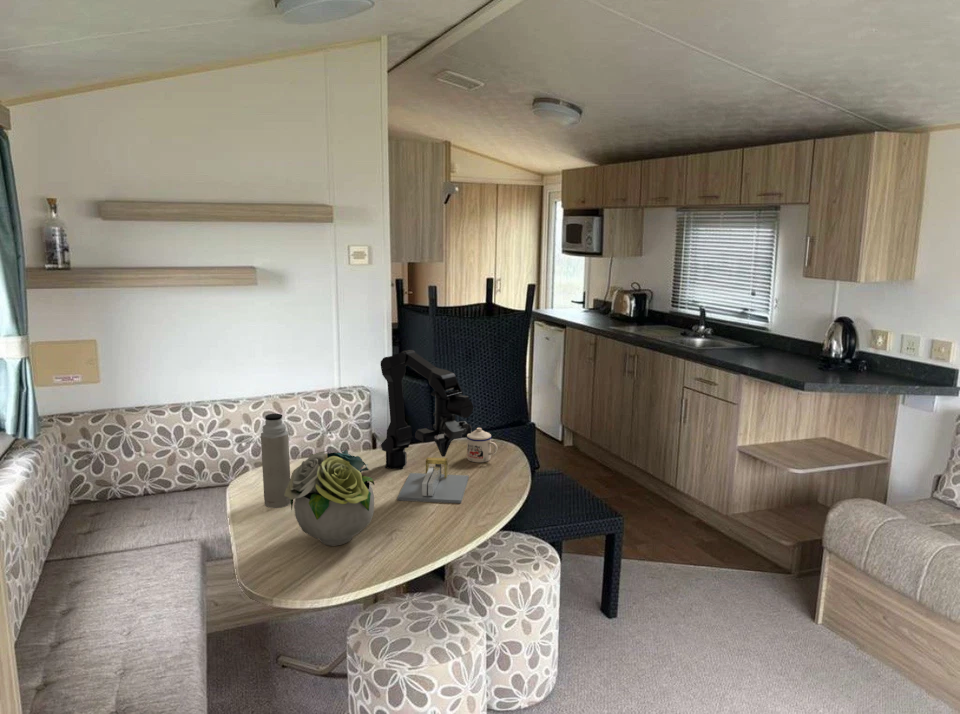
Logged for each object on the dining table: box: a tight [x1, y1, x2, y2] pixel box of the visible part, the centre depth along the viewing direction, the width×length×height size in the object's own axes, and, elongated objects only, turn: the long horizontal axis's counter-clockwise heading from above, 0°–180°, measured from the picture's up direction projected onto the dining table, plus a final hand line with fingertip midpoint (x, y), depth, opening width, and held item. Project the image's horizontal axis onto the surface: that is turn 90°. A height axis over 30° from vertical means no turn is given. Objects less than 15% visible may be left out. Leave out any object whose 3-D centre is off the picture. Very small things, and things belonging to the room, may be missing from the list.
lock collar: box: [425, 456, 449, 478], centre depth 230 cm, size 7×2×6 cm, turn 85°
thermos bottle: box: [260, 413, 291, 509], centre depth 208 cm, size 8×8×28 cm
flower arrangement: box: [284, 449, 375, 547], centre depth 185 cm, size 25×25×24 cm
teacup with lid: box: [466, 427, 499, 463], centre depth 250 cm, size 12×9×12 cm
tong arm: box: [428, 466, 440, 496], centre depth 222 cm, size 2×16×4 cm, turn 174°
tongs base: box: [397, 464, 469, 504], centre depth 223 cm, size 20×21×5 cm
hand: (443, 456), depth 226 cm, fingers closed
